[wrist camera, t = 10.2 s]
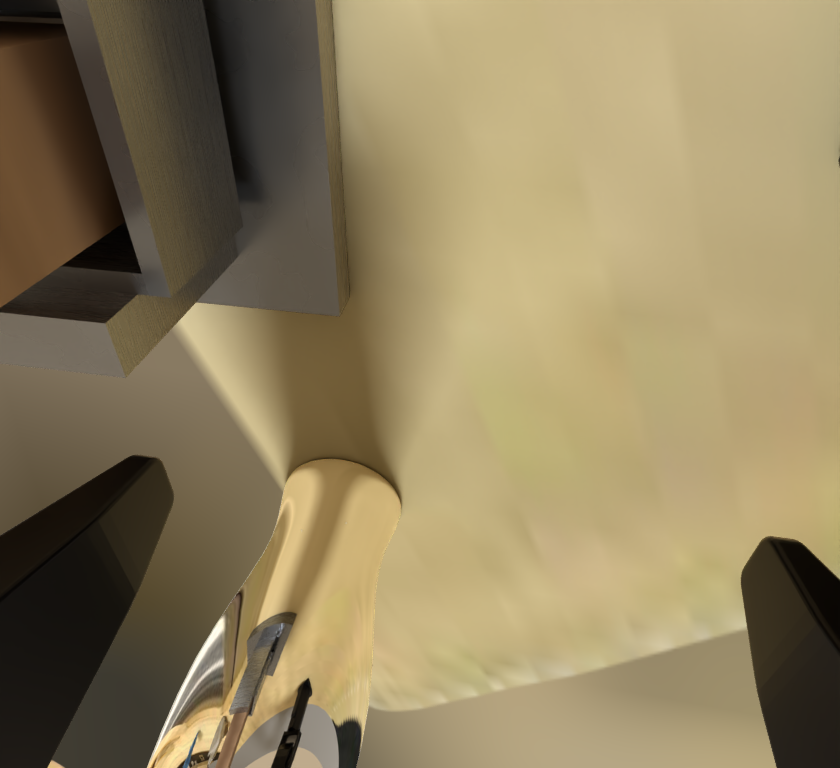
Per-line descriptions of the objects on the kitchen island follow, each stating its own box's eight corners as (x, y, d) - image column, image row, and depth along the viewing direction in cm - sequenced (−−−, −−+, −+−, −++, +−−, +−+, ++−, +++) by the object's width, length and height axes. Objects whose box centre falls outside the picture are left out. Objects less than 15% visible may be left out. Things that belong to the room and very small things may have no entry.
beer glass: (428, 535, 30) (364, 914, 18) (314, 546, 32) (191, 891, 20) (380, 441, 26) (261, 841, 14) (254, 461, 28) (62, 823, 17)
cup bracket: (323, -124, 14) (145, -183, 8) (349, 296, 22) (271, 451, 15) (-101, -130, 15) (-571, -185, 9) (61, 268, 23) (-129, 401, 16)
